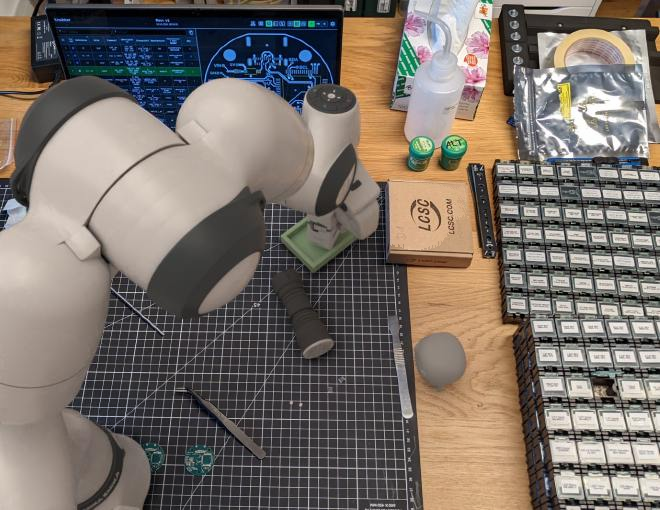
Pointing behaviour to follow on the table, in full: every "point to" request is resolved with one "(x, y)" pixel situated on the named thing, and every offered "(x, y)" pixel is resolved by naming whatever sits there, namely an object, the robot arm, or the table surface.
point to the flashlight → (302, 314)
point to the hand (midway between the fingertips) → (328, 215)
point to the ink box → (323, 230)
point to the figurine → (440, 359)
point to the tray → (313, 246)
